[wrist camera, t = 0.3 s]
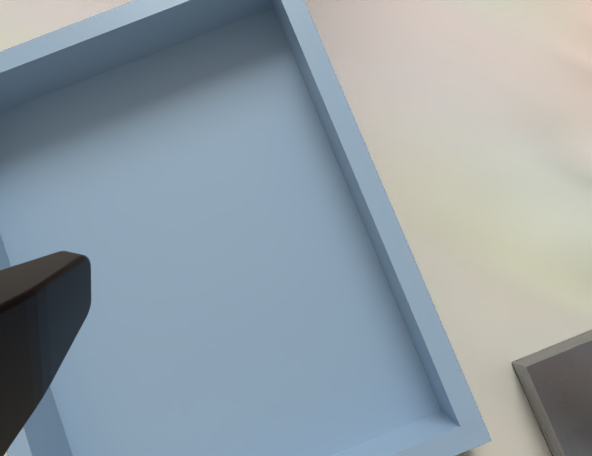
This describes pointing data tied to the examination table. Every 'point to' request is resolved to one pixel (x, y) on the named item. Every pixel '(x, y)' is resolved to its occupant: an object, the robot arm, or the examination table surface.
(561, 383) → the plate
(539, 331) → the examination table surface
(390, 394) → the pin tray
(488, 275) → the examination table surface
